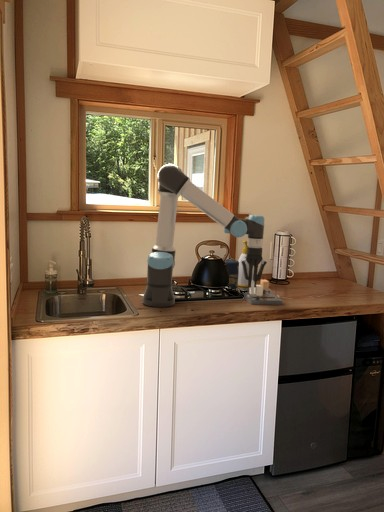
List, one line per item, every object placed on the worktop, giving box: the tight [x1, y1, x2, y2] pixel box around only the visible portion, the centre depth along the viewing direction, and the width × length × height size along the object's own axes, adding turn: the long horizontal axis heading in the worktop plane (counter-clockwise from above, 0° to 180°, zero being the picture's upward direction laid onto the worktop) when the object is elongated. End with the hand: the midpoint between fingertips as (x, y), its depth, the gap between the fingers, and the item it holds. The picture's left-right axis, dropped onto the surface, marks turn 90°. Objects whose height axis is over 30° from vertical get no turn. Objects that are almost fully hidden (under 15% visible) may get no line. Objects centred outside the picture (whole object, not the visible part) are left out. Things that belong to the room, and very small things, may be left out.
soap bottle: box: [237, 240, 254, 288], centre depth 251 cm, size 11×12×26 cm
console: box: [237, 287, 284, 306], centre depth 225 cm, size 16×26×3 cm, turn 9°
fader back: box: [259, 279, 270, 291], centre depth 231 cm, size 3×5×5 cm, turn 9°
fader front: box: [254, 284, 263, 297], centre depth 217 cm, size 3×5×5 cm, turn 9°
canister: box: [224, 258, 239, 289], centre depth 234 cm, size 10×10×18 cm
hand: (251, 293), depth 217 cm, fingers closed
